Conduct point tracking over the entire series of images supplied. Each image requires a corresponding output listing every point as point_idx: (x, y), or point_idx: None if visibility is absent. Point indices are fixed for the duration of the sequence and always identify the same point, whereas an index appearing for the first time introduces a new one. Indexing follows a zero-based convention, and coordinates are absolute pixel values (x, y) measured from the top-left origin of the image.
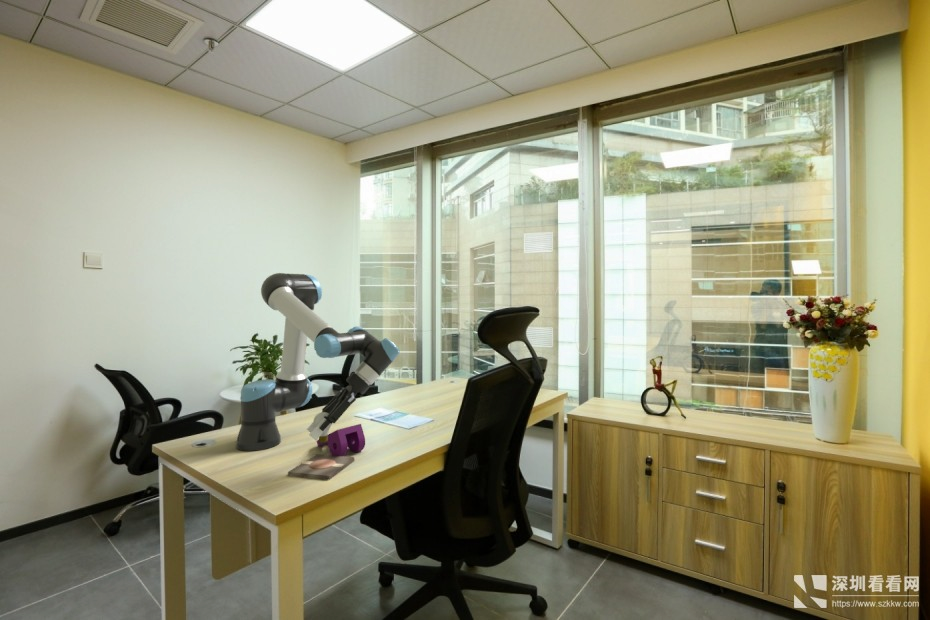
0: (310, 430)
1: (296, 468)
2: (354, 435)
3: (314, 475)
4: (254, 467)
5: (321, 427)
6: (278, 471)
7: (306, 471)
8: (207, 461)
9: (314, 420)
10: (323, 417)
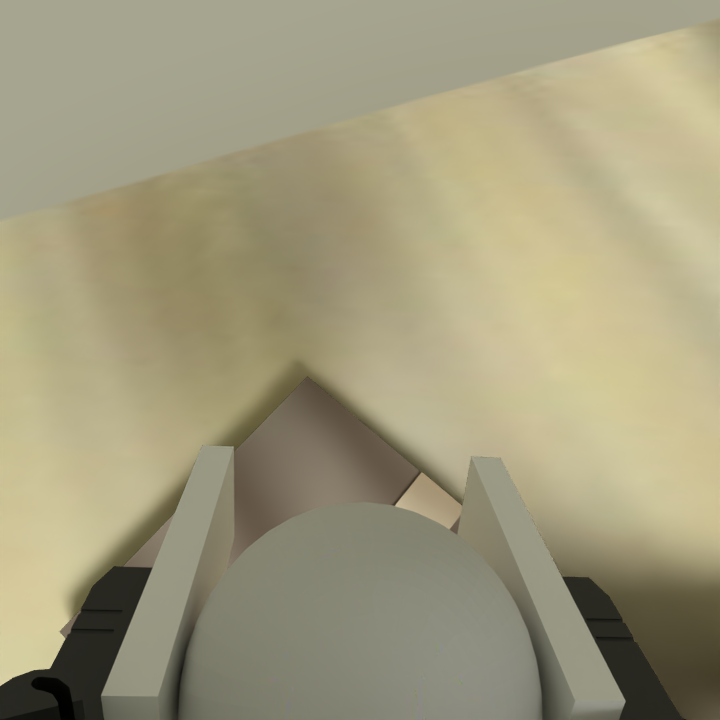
0: (467, 503)
1: (345, 432)
2: None
3: (161, 529)
4: (536, 243)
5: (93, 600)
6: (412, 345)
7: (249, 485)
8: (703, 79)
9: (322, 509)
10: (210, 684)
